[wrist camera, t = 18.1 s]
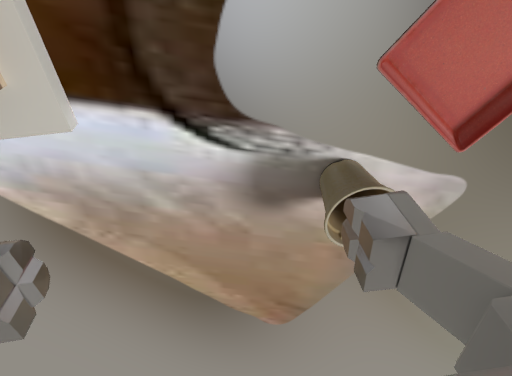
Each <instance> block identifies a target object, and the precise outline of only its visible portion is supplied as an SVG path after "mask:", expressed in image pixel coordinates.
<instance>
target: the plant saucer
mask: <svg viewBox="0 0 512 376" xmlns="http://www.w3.org/2000/svg"><path fill="white" fill-rule="evenodd" d="M377 69H378V71H379V72H380V73H381V74H382V75H383V76H384V77H385V78H386V79H387V80H388V81H389V82H390V83H391V84H392V85H393V86H394V87H395V88H396V89H397V90H398V91H399V93H400V94H402V96H404V98H405V99H406V100H407V101H408V102H409V103H410V104H411V105H412V106H413V107H414V108H415V109H416V110H417V111H418V112H419V113H420V114H421V115H422V116H423V117H424V119H425V120H426V121H427V122H428V123H429V124H430V125H431V126H432V127H433V128H434V129H435V130H436V131H437V132H438V133H439V134H440V135H441V136H442V137H443V139H444V140H445V141H446V142H447V143H448V144H449V145H450V146H451V147H452V148H453V149H454V150H455V151H456V152H464V151H465V150H467V149H468V148H469V147H470V146H472V145H473V144H474V143H476V142H477V141H478V140H480V139H481V138H482V137H483V136H485V135H486V134H487V133H488V132H490V131H491V130H492V129H493V128H495V127H496V126H497V125H499V124H500V123H501V122H502V121H504V120H505V119H506V118H507V117H508V116H510V115H511V114H512V0H435V1H434V2H433V3H432V4H431V5H430V6H429V7H428V9H427V10H426V11H425V12H424V13H423V14H422V15H421V16H420V17H419V18H418V19H417V20H416V21H415V22H414V23H413V24H412V25H411V26H410V27H409V28H408V29H407V30H406V31H405V32H404V33H403V35H402V36H401V37H400V38H399V39H398V40H397V41H396V42H395V43H394V44H393V45H392V46H391V47H390V48H389V49H388V50H387V51H386V52H385V53H384V54H383V55H382V56H381V58H380V59H379V60H378V63H377Z"/></svg>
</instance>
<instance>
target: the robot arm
mask: <svg viewBox="0 0 512 376" xmlns="http://www.w3.org/2000/svg"><path fill="white" fill-rule="evenodd" d="M343 211H344V213H345V215H346V217H347V219H346V220H345V221H344V222H343V223H342V231H341V234H342V243H343V246H344V250H345V252H346V255H347V257H348V258H349V259H351V260H352V261H354V262H355V266H354V273H355V274H356V277H357V279H358V281H359V283H360V285H361V288H362V290H363V292H368V291H377V290H386V289H395V288H397V291H399V292H400V293H401V294H402V295H404V296H405V297H406V298H407V299H409V300H410V301H411V302H412V303H414V304H415V305H416V306H417V307H418V308H420V309H421V310H422V311H423V312H425V313H426V314H427V315H428V316H430V317H431V318H432V319H434V320H435V321H436V322H437V323H439V324H440V325H441V326H442V327H443V328H445V329H446V330H447V331H448V332H450V333H451V334H452V335H453V336H455V337H456V338H457V339H458V340H460V341H461V342H462V343H463V344H465V347H464V349H463V351H462V352H461V354H460V356H459V358H458V359H457V361H456V364H455V366H454V368H455V370H456V371H457V373H458V374H453V375H447V376H512V262H510V261H508V260H506V259H504V258H502V257H500V256H498V255H496V254H493V253H491V252H489V251H487V250H485V249H483V248H481V247H479V246H476V245H474V244H472V243H470V242H468V241H466V240H464V239H462V238H459V237H457V236H455V235H453V234H451V233H449V232H440V231H439V230H438V229H437V227H436V226H435V225H434V224H433V223H432V221H431V220H430V219H429V218H428V216H427V215H426V214H425V213H424V212H423V210H422V209H421V208H420V207H419V206H418V204H417V203H416V202H415V201H414V200H413V199H412V197H411V196H410V195H409V194H408V193H407V192H405V191H396V192H389V193H384V194H378V195H371V196H363V197H356V198H348V199H346V201H345V203H344V210H343ZM34 253H35V250H34V248H33V247H32V245H31V244H30V243H29V241H25V240H14V241H5V242H0V343H4V342H10V341H16V340H22V339H24V338H25V336H26V334H27V332H28V330H29V328H30V325H31V324H32V322H33V319H34V318H35V316H36V311H35V308H34V307H35V306H36V305H37V304H38V303H39V302H41V301H42V300H43V299H44V298H45V296H46V294H47V291H48V289H49V283H50V275H49V271H48V268H47V267H46V265H45V264H44V262H42V261H40V260H38V259H36V258H34V257H33V256H34Z"/></svg>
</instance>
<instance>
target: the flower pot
mask: <svg viewBox="0 0 512 376" xmlns="http://www.w3.org/2000/svg"><path fill="white" fill-rule="evenodd" d="M320 189H321V193H322V197H323V202H324V206H325V211H326V213H325V221H324V230H325V233H326V235H327V237H328V238H329V239H330V240H331V241H332V242H333V243H335V244H336V245H339V246H342V247H344V246H343V243H342V234H341V231H342V223H343V222H344V221H345V220H346V219H347V217H346V215H345V213H344V211H343V210H344V203H345V201H346V199H348V198H356V197H363V196H371V195H378V194H384V193H389V192H395V191H394V190H392V189H390V188H388V187H385V186H384V185H382V184H380V183H379V182H378V181H377V180H376V179H375V178H374V177H373V176H371V175H370V174H369V173H368V172H367V171H366V170H365V169H364V168H363V167H362V166H361V165H360V164H359V163H358V162H356V161H353V160H343V161H340V162H336V163H332V164H331V165H329V166H328V167H327V168H326V169H325V170H324V171H323V173H322V175H321V177H320Z"/></svg>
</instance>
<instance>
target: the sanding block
mask: <svg viewBox="0 0 512 376" xmlns="http://www.w3.org/2000/svg"><path fill="white" fill-rule="evenodd" d="M6 86H7V84H6V82H5V80H4V78H3V77H2V75H1V73H0V90H1V89H3V88H4V87H6Z"/></svg>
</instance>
